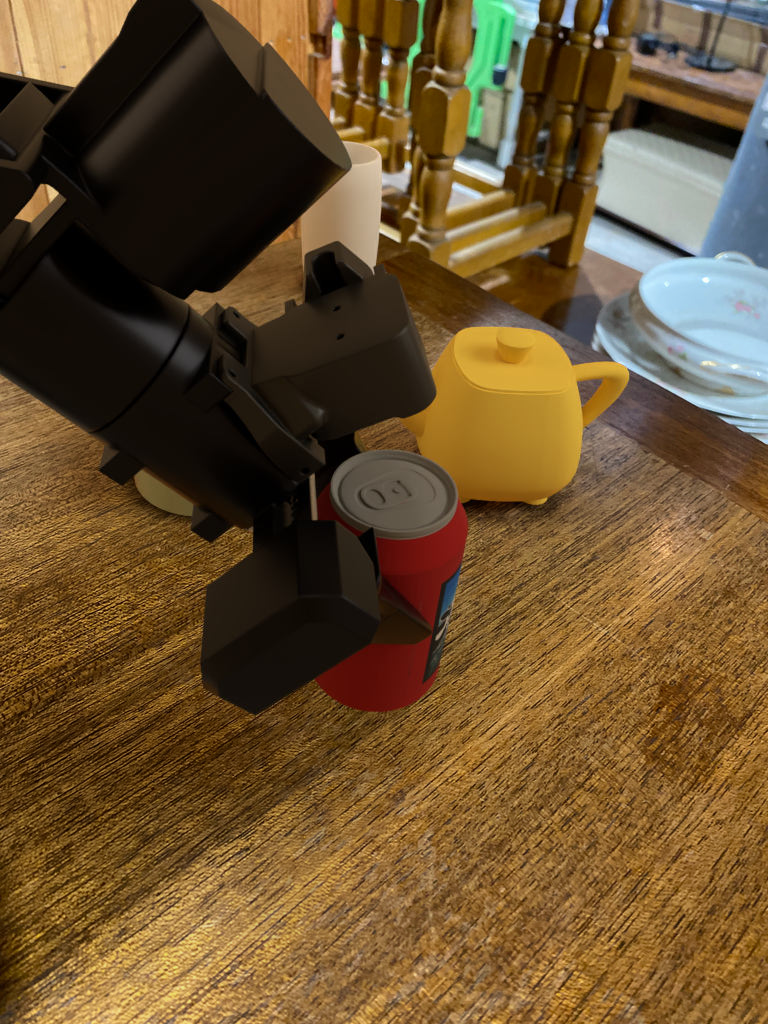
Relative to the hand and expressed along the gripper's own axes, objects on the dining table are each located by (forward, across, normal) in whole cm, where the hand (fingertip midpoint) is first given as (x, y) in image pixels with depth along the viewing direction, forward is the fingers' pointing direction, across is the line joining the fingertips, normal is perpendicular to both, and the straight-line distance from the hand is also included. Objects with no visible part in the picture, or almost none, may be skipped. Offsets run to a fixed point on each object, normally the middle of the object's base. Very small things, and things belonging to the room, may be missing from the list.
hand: (412, 577), depth 36 cm
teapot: (+17, +24, +2) cm, 30 cm away
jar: (+1, +25, +18) cm, 31 cm away
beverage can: (+4, 0, +6) cm, 7 cm away
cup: (+10, +58, +9) cm, 59 cm away
